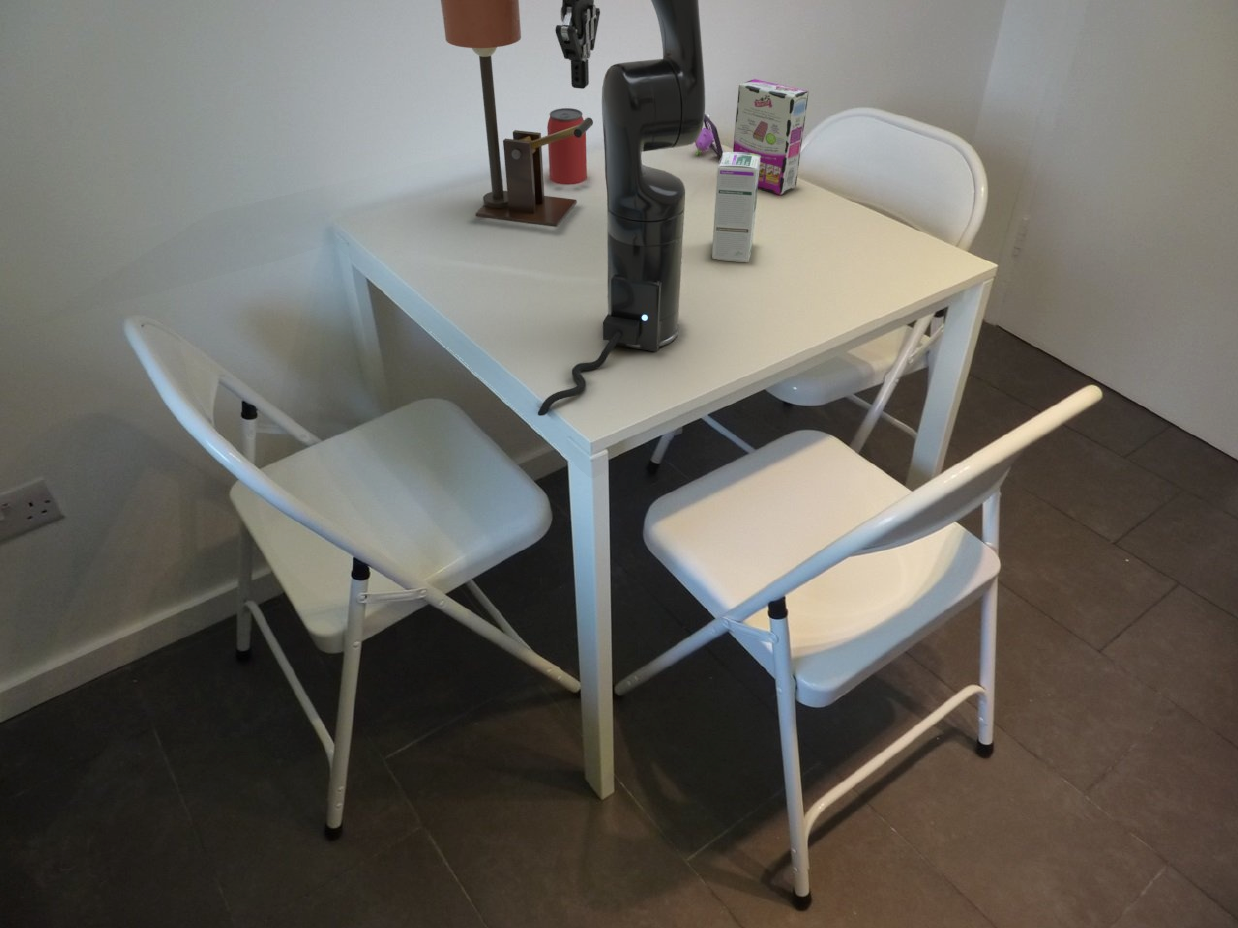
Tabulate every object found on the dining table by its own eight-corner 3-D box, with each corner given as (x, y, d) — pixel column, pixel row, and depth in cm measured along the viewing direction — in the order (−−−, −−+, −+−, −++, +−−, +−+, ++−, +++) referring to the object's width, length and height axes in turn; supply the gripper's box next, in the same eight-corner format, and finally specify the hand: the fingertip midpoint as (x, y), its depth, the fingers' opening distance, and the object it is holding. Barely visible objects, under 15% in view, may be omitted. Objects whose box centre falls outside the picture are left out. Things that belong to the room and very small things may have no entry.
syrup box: (749, 263, 126) (759, 167, 117) (709, 259, 127) (717, 164, 118) (752, 246, 130) (762, 153, 121) (714, 243, 131) (721, 150, 122)
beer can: (544, 187, 148) (540, 117, 140) (557, 173, 153) (554, 105, 145) (579, 192, 147) (577, 121, 139) (591, 178, 151) (590, 109, 144)
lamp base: (577, 208, 141) (574, 130, 133) (557, 233, 134) (553, 152, 126) (500, 198, 144) (493, 122, 136) (476, 222, 137) (467, 142, 129)
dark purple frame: (720, 125, 153) (706, 110, 160) (693, 137, 154) (681, 121, 160) (728, 159, 158) (715, 143, 164) (702, 170, 158) (690, 153, 165)
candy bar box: (797, 188, 148) (810, 90, 138) (781, 196, 145) (793, 97, 135) (745, 172, 154) (754, 77, 143) (729, 179, 151) (737, 83, 140)
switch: (595, 128, 130) (589, 112, 128) (584, 140, 125) (578, 124, 124) (524, 152, 135) (518, 137, 134) (512, 164, 131) (505, 149, 130)
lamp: (517, 220, 134) (499, -5, 113) (454, 211, 136) (425, -11, 116) (541, 194, 142) (529, -21, 121) (481, 186, 144) (459, -26, 124)
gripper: (566, -59, 118) (570, 72, 129) (532, -43, 108) (540, 98, 119) (617, -56, 116) (617, 76, 128) (588, -39, 107) (590, 103, 118)
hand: (580, 87), depth 123 cm, fingers closed
